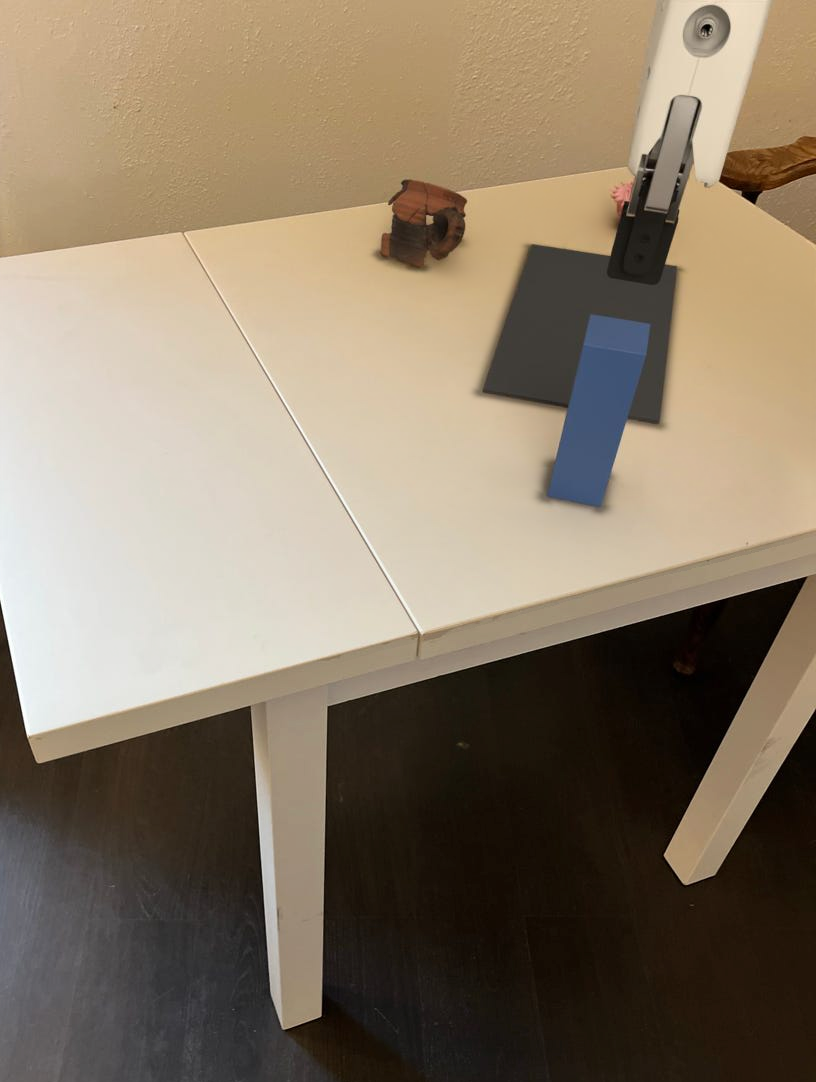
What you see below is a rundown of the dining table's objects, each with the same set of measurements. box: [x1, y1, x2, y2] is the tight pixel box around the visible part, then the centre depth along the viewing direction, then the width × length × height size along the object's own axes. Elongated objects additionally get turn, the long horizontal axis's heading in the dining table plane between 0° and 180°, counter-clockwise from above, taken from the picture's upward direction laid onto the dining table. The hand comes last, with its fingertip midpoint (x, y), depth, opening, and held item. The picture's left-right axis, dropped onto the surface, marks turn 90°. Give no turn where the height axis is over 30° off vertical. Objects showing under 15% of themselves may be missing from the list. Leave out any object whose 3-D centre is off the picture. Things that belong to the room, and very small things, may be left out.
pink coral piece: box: [609, 179, 634, 218], centre depth 109 cm, size 8×8×6 cm
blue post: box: [546, 314, 650, 508], centre depth 74 cm, size 4×4×14 cm
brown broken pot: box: [380, 179, 468, 269], centre depth 104 cm, size 12×10×8 cm
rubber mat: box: [482, 243, 678, 425], centre depth 96 cm, size 16×30×1 cm, turn 164°
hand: (633, 274), depth 58 cm, fingers closed
